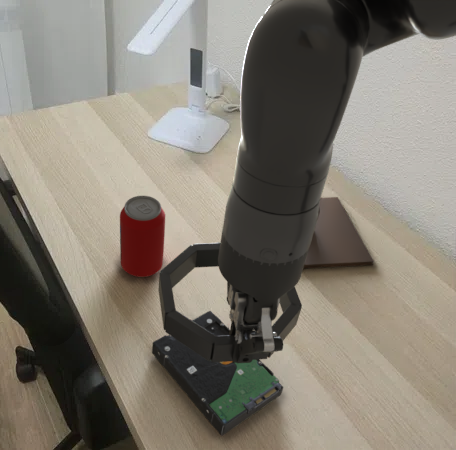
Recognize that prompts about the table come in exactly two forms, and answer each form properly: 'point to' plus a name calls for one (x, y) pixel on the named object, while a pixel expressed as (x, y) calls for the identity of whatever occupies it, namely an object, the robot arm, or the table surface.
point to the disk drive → (218, 379)
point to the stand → (335, 239)
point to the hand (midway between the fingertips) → (239, 351)
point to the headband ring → (194, 333)
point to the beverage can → (142, 236)
